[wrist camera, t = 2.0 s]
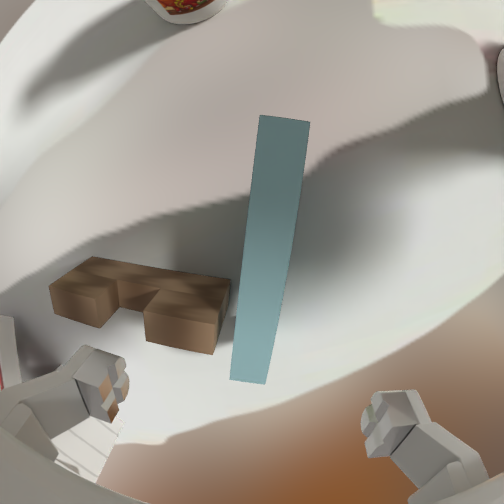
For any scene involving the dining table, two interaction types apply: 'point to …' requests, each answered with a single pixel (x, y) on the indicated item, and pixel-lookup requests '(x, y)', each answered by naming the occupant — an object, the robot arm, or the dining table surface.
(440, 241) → the dining table surface
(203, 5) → the milk bottle
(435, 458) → the robot arm
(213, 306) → the brown wooden angled block
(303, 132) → the plank
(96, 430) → the pizza boxes
